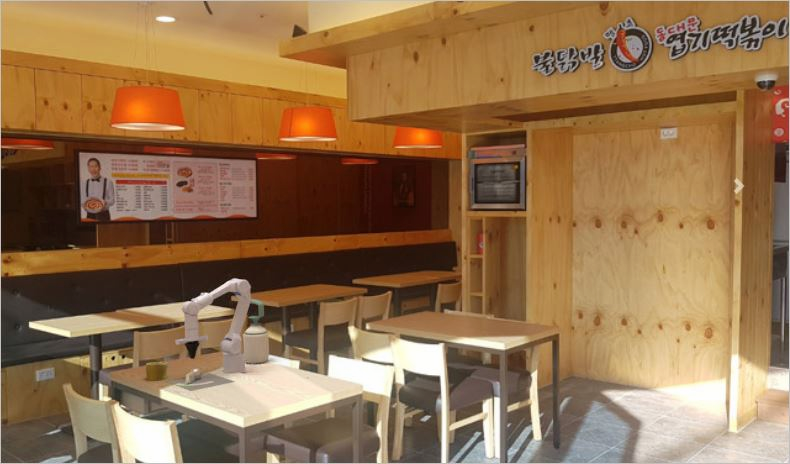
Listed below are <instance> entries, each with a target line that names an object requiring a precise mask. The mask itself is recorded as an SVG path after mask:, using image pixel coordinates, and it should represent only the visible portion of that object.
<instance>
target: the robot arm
mask: <svg viewBox="0 0 790 464" xmlns="http://www.w3.org/2000/svg"><path fill="white" fill-rule="evenodd" d="M251 288H252V286H251V285H250V282H249V280H247V279H239V278H235V277H234V278H232V279H230V280H228V281H226V282H225V283H224V284H222V285H220V286H219V287H217V288H215V289H213V290H212V291H211V292H201V293H200V295H199V296H197V297H195V298H194V297H193V298H192V299H191V301H189V300H188V301H186V302H184V303H183V305H182V307H181V310H182V312H183V314H184V316H183V317H184V338H180V339H179V338H178V339H175V343H174V344H175V345H177V346H179V345H183V344H184V346H185V348H186V350H187V353H188V355H189V358H190V359H191V360H192V359H193V360H194V359H196V354H197V350H198V348H199V346H200V342H202V341H204V342H205V341H206V342H207V341H208V340H209V339H208V338H209V336H208V335H200V336H199V320H198V319H199V318H198V315H199V313H200V311H201V310H203V309H206V307H208V306H210V305H211V304H213V302H214V300H215V299H217V298H219V297H221V296H223V295H225V294H226V293H230V292H231V293H233V294H234V295H235V296H236V298H237V299H238V302H237V305H236V308H235V311H234V315H233V318H232V320H231V324H230V327H229V331H228V332H227V334H225V335H224V338H223V340H222V341H221V342H220V346H219V348H220V349H221V351H222V362H223V363H222V366H223V367H222V369H223V373H225V374H233V373H240V374H243V373H246V360H245V358H244V353H242V352H241V350H242V337H241V334H242V331H243V326H244V323H245V320H246V317H247V314H248V310H249V307H250V304H251V302H250V301H251V300H252V294H251Z"/></svg>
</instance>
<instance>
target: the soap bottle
mask: <svg viewBox="0 0 790 464" xmlns="http://www.w3.org/2000/svg"><path fill="white" fill-rule="evenodd" d="M250 303H252V304H255V305H256V306H258V315H251V316H248V319H251V321H253V323H250V326H249V327H248V328H247V329H246V330H245V331H244V332H243V334H242V338H243V355H244V358H245V363H248V364H250V363H251V364H252V365H257V364H256V363H259V364H263V363H266V362H267V360H268V359H269V356H270V345H269V343H270V341H269V337H270V335H269V332H268V330H267V329H266V328H265V327H264V326H262V324H261V323H259V320H260V318H263V317H264V316H265V304H264V302H263V301H261V300H258V299H254V298H251V301H250Z"/></svg>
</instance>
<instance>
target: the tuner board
mask: <svg viewBox="0 0 790 464" xmlns="http://www.w3.org/2000/svg"><path fill="white" fill-rule="evenodd" d="M185 382H186V377H185V378H181V379H176V380H169V381H168V383H169V384H172V385H174V386H176V387H178V388H181V389H184V390H187V391H189V392H192V391H193V392H194V391H198V390H202V389H208V388H212V387H216V386H217V387H218V386H221V385H227V384H231V383H235V382H236V381H234V380H232V379H229V378H226V377H223V376H220V375H217V374H213V373H207V374H201V379H199V380H194V381H193V382H191V383H187V384H185Z"/></svg>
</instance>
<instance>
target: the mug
mask: <svg viewBox="0 0 790 464" xmlns="http://www.w3.org/2000/svg"><path fill="white" fill-rule="evenodd" d="M168 364H169V363H168V362H167V361H159V362H158V361H156V362H155V361H154V362H148V363H147V362H146V364H145V375H146V380H147V381H150V382H158V381H163V380H166V379H168V366H169V365H168Z"/></svg>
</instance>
